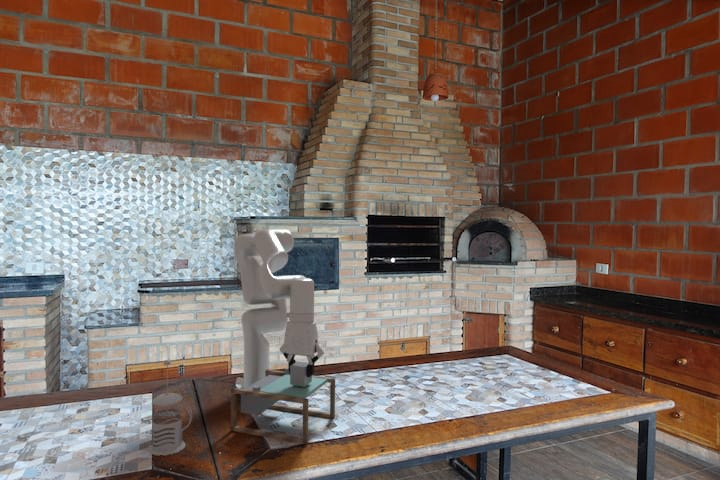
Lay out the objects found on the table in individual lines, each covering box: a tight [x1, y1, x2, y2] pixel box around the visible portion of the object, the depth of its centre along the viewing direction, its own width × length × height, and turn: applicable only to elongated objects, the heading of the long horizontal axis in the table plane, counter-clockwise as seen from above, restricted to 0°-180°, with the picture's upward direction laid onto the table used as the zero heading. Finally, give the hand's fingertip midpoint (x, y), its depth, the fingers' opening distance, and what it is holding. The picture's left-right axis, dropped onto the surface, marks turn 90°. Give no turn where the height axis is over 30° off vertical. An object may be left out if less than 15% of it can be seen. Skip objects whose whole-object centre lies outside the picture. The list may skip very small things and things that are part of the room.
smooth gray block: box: [290, 360, 312, 387], centre depth 150 cm, size 5×5×6 cm
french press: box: [148, 359, 193, 456], centre depth 135 cm, size 10×12×25 cm
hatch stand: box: [230, 367, 336, 446], centre depth 152 cm, size 26×21×14 cm
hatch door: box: [240, 374, 328, 416], centre depth 152 cm, size 22×18×8 cm
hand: (301, 374), depth 150 cm, fingers open, 5 cm apart
